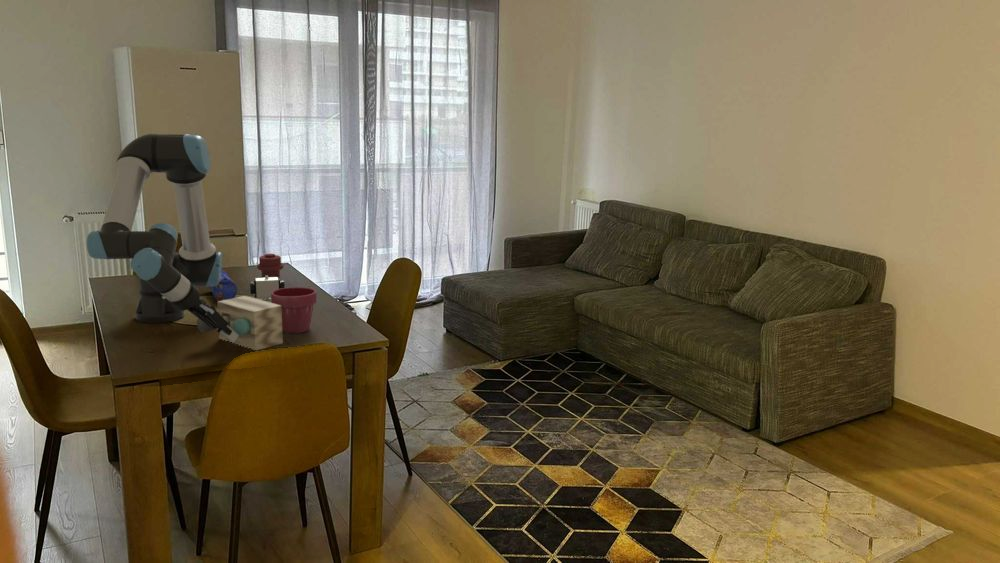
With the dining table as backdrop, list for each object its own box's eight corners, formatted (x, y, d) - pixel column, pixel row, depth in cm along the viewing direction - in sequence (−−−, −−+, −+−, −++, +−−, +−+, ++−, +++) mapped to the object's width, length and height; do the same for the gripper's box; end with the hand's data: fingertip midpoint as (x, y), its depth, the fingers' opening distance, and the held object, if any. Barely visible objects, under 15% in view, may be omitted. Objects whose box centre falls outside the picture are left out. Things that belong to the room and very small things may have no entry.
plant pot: (287, 321, 264) (286, 284, 261) (325, 325, 260) (324, 288, 257) (263, 332, 250) (262, 294, 247) (302, 337, 246) (301, 298, 244)
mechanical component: (272, 280, 322) (289, 284, 316) (252, 284, 313) (269, 288, 308) (271, 251, 319) (288, 254, 314) (251, 254, 311) (268, 257, 305)
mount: (255, 350, 233) (253, 311, 230) (219, 338, 243) (217, 301, 240) (282, 343, 240) (281, 305, 238) (246, 331, 251) (244, 295, 248)
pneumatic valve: (285, 309, 279) (284, 276, 276) (251, 311, 275) (249, 278, 272) (284, 305, 284) (283, 273, 281) (250, 307, 280) (249, 274, 277)
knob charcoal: (206, 334, 232) (206, 318, 231) (197, 331, 234) (196, 315, 233) (242, 325, 241) (241, 310, 240) (232, 322, 244) (232, 308, 243)
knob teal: (242, 337, 230) (242, 321, 229) (233, 333, 233) (232, 318, 232) (277, 328, 240) (276, 313, 239) (267, 325, 243) (266, 310, 241)
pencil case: (206, 291, 302) (204, 267, 300) (229, 289, 306) (228, 265, 304) (214, 304, 283) (212, 278, 281) (238, 302, 287) (237, 277, 285)
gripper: (158, 299, 216) (214, 344, 233) (185, 306, 209) (240, 353, 225) (175, 277, 219) (229, 324, 236) (202, 284, 212) (255, 332, 228)
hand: (234, 338), depth 231 cm, fingers closed
